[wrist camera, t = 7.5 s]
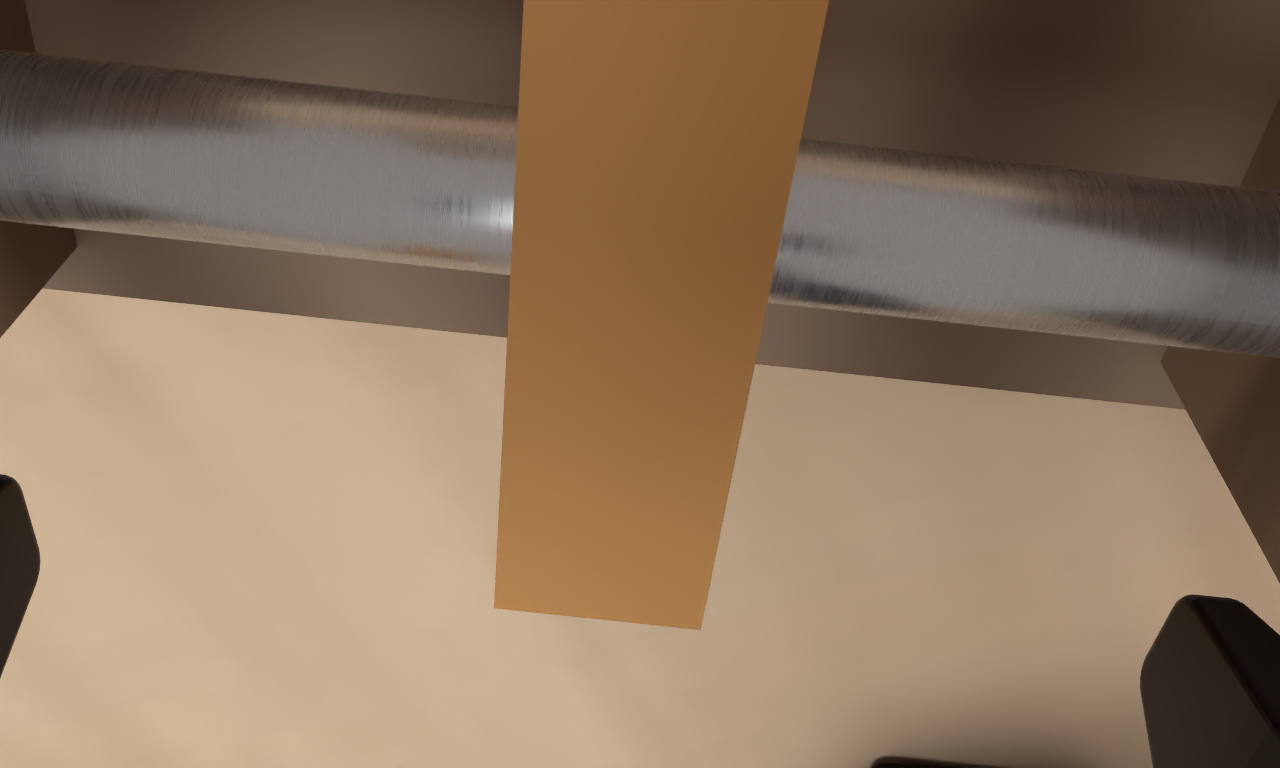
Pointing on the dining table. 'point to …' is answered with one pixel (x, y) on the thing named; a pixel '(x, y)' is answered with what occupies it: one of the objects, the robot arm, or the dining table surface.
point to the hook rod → (485, 182)
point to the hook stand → (837, 111)
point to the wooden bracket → (640, 290)
